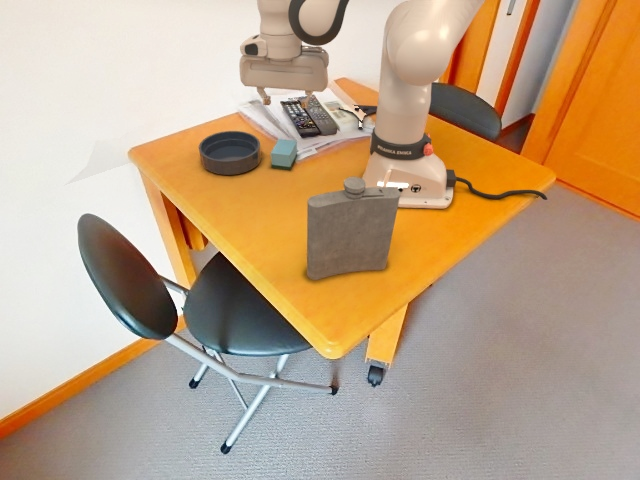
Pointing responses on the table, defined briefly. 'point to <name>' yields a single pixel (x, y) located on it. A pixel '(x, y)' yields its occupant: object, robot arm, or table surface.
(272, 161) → the sponge
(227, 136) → the bowl
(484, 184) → the table surface
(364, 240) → the hip flask
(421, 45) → the robot arm
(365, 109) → the bracket
